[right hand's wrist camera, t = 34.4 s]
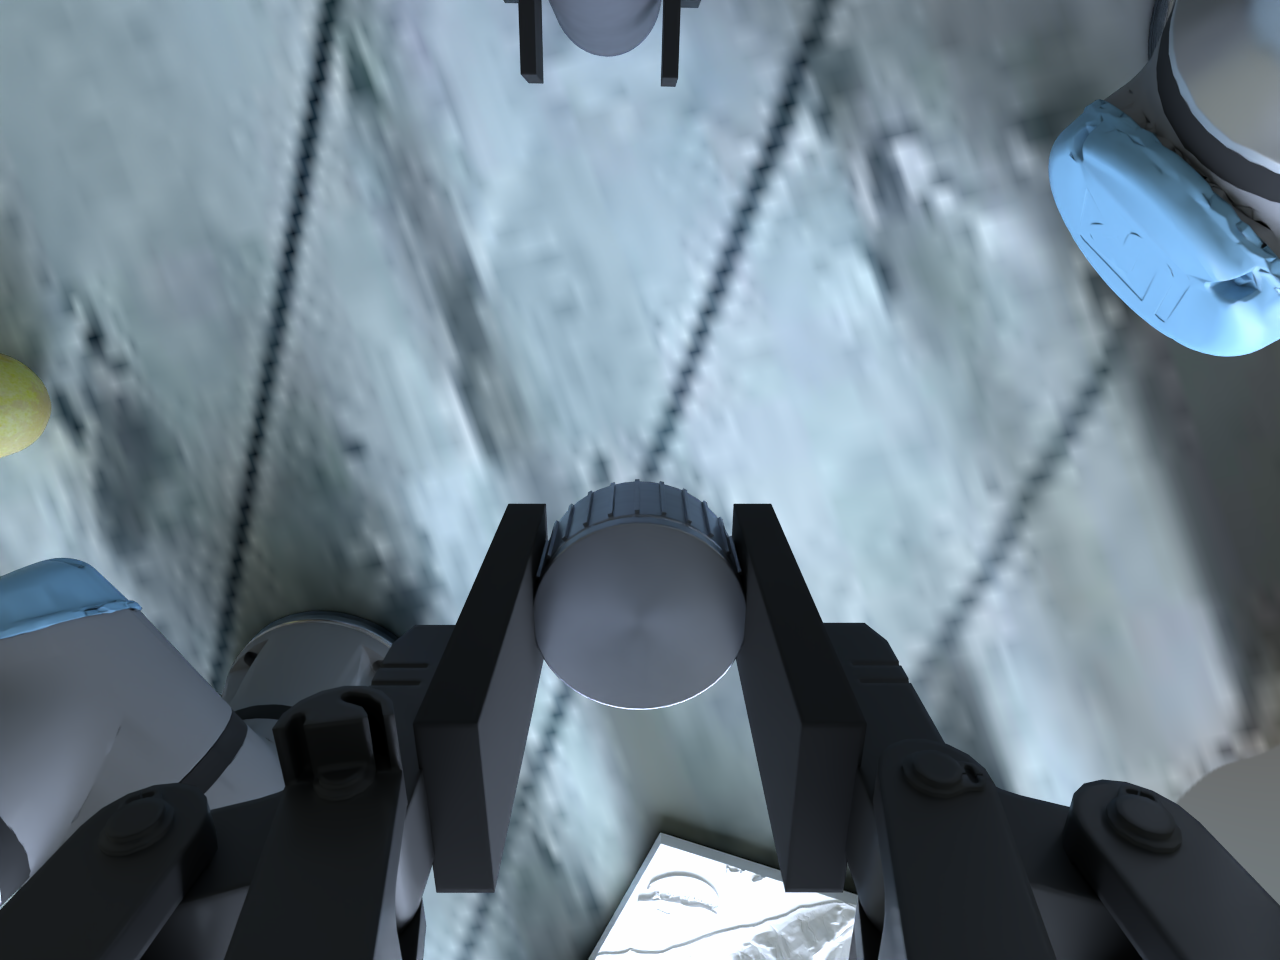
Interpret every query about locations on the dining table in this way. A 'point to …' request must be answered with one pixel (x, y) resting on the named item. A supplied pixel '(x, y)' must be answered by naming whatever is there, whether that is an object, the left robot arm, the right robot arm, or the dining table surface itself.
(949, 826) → the right robot arm
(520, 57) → the left robot arm
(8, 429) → the fruit
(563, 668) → the cap
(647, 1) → the bottle
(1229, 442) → the dining table surface
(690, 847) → the relief map
